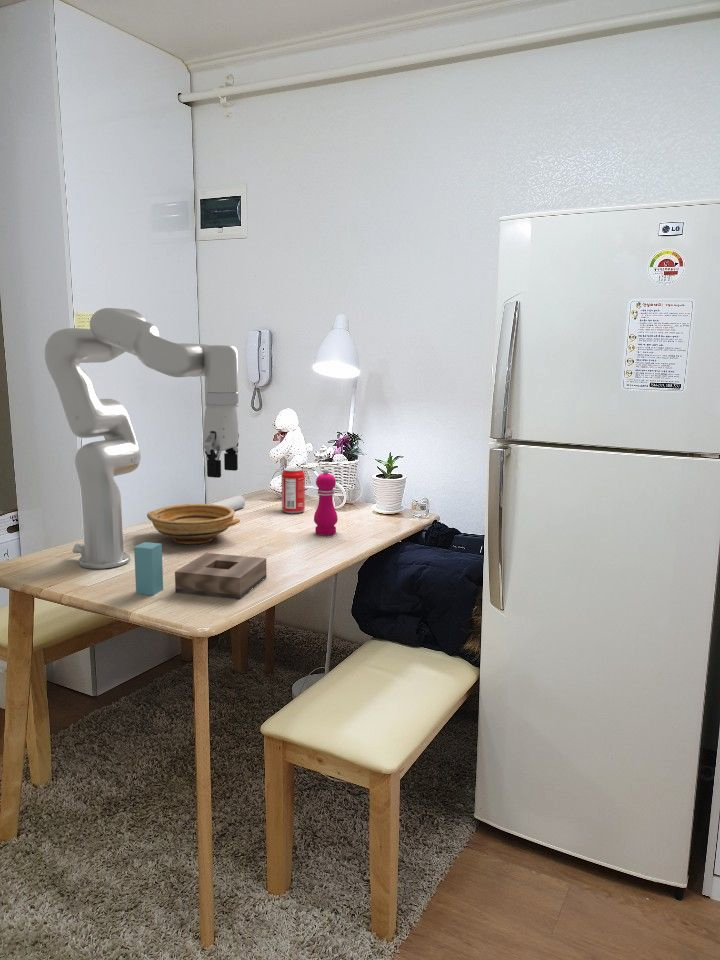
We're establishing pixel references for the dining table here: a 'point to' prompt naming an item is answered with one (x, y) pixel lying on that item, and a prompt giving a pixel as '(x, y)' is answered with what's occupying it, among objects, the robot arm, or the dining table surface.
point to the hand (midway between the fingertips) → (222, 473)
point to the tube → (232, 502)
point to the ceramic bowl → (192, 521)
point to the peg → (148, 568)
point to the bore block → (220, 575)
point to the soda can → (293, 490)
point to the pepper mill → (325, 505)
